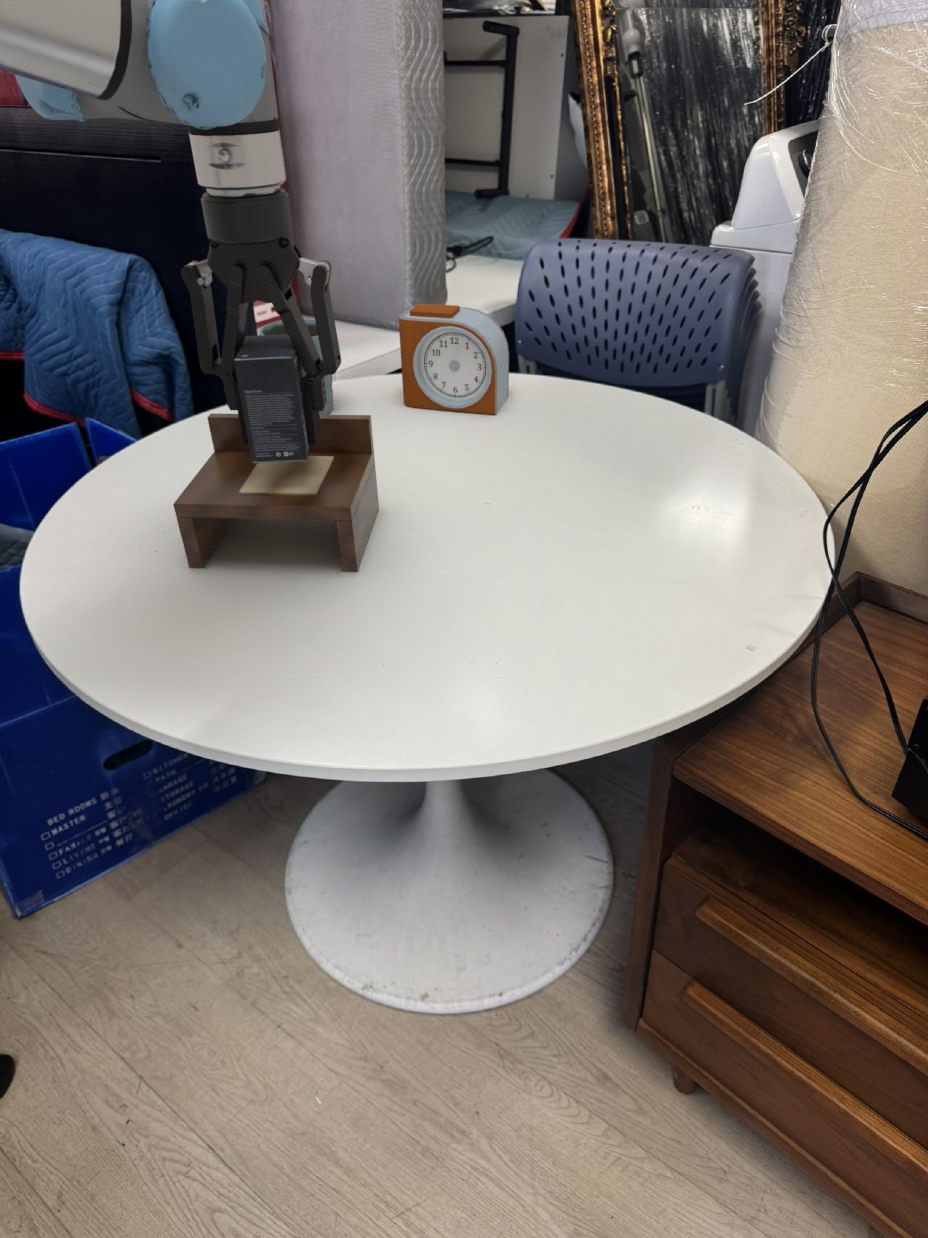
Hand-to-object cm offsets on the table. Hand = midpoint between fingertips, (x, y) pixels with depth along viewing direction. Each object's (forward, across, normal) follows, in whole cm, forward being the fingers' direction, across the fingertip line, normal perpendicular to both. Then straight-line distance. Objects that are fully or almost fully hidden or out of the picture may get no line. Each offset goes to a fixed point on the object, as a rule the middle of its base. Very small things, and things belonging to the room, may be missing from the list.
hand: (283, 439), depth 84 cm
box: (+1, 0, 0) cm, 1 cm away
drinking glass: (+12, -8, +38) cm, 41 cm away
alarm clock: (+12, +14, +42) cm, 46 cm away
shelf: (+11, -1, 0) cm, 12 cm away
